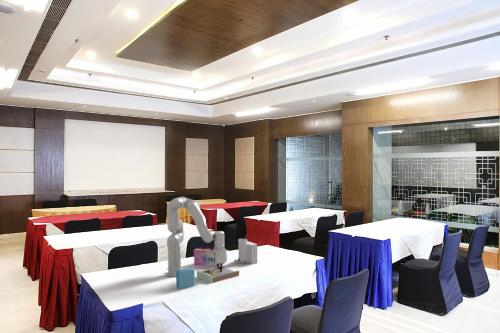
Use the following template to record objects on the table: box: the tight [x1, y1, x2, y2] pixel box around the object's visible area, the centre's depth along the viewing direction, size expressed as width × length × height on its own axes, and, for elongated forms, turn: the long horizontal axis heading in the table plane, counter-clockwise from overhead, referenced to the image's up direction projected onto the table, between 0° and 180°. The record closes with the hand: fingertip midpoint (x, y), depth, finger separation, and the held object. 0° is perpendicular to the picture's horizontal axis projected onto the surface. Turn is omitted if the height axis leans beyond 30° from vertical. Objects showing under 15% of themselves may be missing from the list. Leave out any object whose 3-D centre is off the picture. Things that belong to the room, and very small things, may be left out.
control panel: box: [233, 238, 258, 265], centre depth 303 cm, size 16×19×20 cm
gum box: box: [193, 247, 218, 268], centre depth 297 cm, size 24×8×14 cm, turn 76°
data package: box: [175, 267, 196, 290], centre depth 243 cm, size 12×4×12 cm, turn 127°
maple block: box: [210, 267, 220, 276], centre depth 263 cm, size 5×6×4 cm
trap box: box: [196, 265, 240, 284], centre depth 266 cm, size 19×26×5 cm
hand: (220, 271), depth 267 cm, fingers closed
